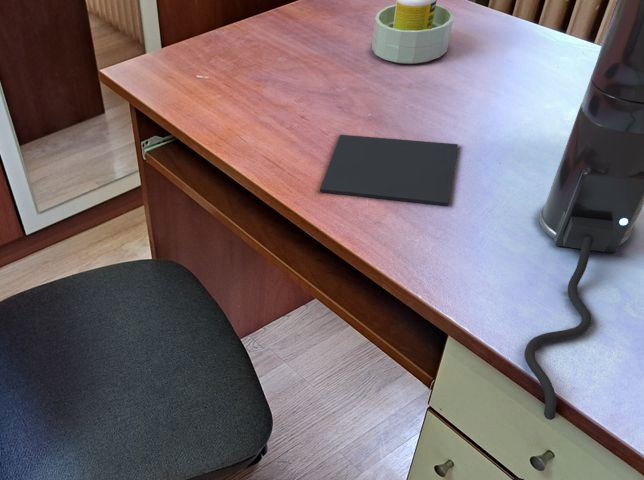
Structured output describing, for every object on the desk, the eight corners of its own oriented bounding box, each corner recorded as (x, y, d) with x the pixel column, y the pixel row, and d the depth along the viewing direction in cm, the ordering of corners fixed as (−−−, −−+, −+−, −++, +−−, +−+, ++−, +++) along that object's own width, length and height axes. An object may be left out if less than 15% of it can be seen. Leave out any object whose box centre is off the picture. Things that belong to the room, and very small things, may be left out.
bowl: (443, 67, 106) (450, 33, 102) (366, 64, 110) (370, 30, 106) (450, 36, 113) (456, 2, 109) (378, 33, 117) (381, 1, 113)
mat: (447, 206, 81) (448, 202, 81) (319, 192, 86) (319, 188, 86) (457, 147, 90) (457, 144, 90) (339, 137, 95) (340, 134, 95)
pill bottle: (430, 54, 108) (443, -19, 100) (391, 55, 110) (401, -16, 101) (426, 38, 112) (438, -33, 104) (389, 40, 114) (398, -30, 106)
